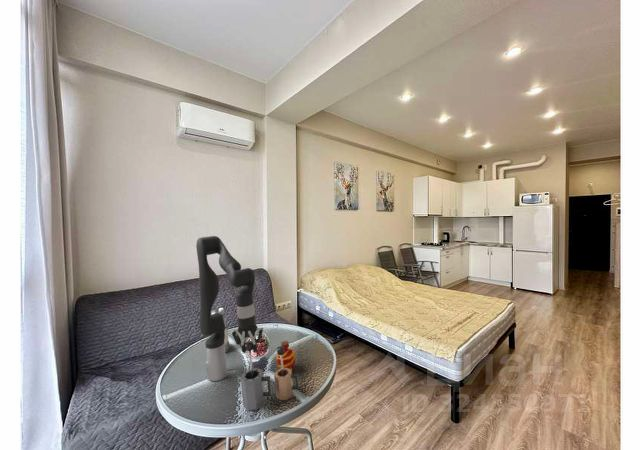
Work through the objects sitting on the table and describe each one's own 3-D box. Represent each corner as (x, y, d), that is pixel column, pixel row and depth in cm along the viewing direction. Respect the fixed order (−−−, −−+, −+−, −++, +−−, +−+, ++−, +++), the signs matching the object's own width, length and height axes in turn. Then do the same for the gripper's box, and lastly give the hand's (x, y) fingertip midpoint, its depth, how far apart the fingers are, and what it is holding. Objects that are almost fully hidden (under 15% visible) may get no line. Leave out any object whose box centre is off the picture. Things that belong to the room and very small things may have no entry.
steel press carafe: (241, 411, 110) (238, 382, 109) (247, 396, 119) (244, 369, 118) (270, 408, 110) (267, 379, 109) (273, 394, 119) (271, 367, 118)
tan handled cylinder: (275, 400, 115) (273, 379, 114) (278, 388, 122) (276, 368, 122) (298, 398, 115) (296, 377, 114) (299, 387, 122) (297, 366, 122)
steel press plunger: (247, 386, 112) (243, 345, 111) (249, 380, 116) (245, 341, 115) (256, 385, 112) (252, 344, 111) (258, 380, 116) (254, 340, 115)
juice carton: (214, 356, 156) (210, 313, 154) (214, 348, 166) (209, 308, 164) (229, 352, 159) (225, 310, 158) (228, 345, 169) (224, 305, 168)
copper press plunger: (279, 382, 117) (276, 350, 116) (280, 377, 120) (277, 346, 119) (286, 381, 117) (283, 349, 116) (287, 376, 120) (284, 345, 119)
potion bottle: (293, 376, 130) (291, 348, 130) (274, 375, 133) (272, 347, 132) (299, 364, 141) (297, 338, 140) (281, 363, 143) (279, 337, 142)
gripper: (227, 319, 109) (231, 358, 110) (260, 316, 109) (264, 355, 110) (232, 312, 116) (236, 348, 117) (263, 309, 116) (267, 346, 117)
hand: (249, 351), depth 113 cm, fingers closed on steel press plunger, 3 cm apart
